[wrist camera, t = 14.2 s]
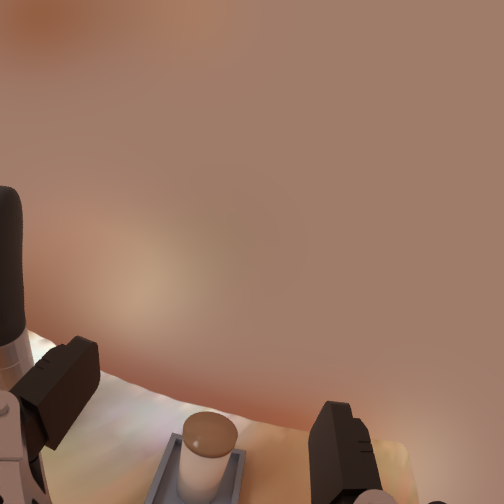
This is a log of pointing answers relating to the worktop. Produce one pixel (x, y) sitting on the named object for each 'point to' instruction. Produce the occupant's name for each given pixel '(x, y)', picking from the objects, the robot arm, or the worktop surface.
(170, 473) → the dish
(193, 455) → the canister
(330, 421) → the robot arm
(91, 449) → the worktop surface
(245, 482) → the worktop surface
